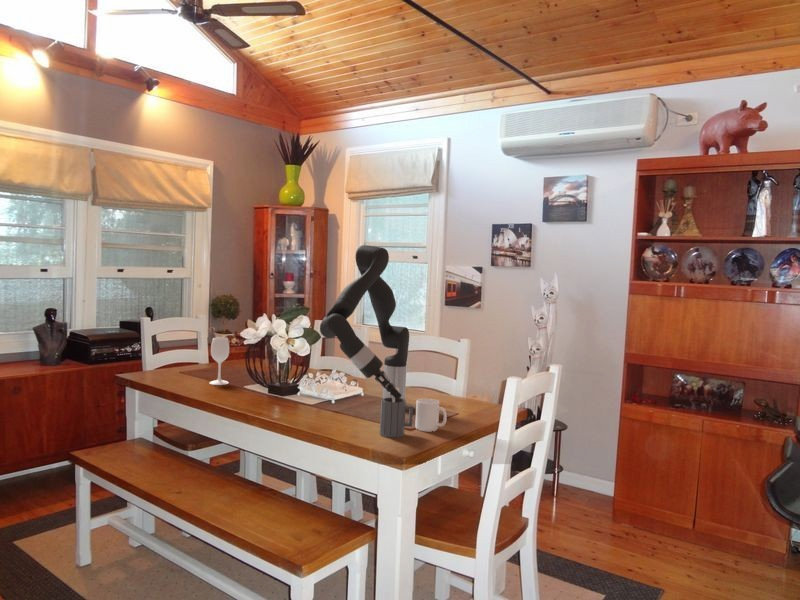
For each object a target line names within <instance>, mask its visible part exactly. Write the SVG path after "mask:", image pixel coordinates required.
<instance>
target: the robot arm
mask: <svg viewBox="0 0 800 600" xmlns="http://www.w3.org/2000/svg"><path fill="white" fill-rule="evenodd" d="M389 260H390V255H389V251H388V250H387V249H386V248H384V247H382V246H381V247H380V246H376V245H375V246H374V245H367V244H366V245H365V244H364V245H360V246H358V247H357V249H356V252H355V263H356V266H357V269H358V271H359V274H360V277H357V278H356V279H355V280H353V281H351V282H350V283H349V284H348V285H346V286H345V287H344V288H343V290H342V291H341V293H340V294H339V296H338V298H337V299H336V301H335V303H334V304H333V306H332V307H331V308H330V309H329V311H328V312H327V313H326V315H325V316H324V318H323V319H322V320H321V322H320V326H319V332H320V334H321V335H322V336H323V337H324V338H327V339H333V338H335V337H336V338H337V339H338V341H339V342H340V344H339V348H340V350H341V351H342V352H343V353H344V355H345V356H346V357H347V358H348V359H349V360H350V361H351V362H352V364H353V365H354V366H355V368H357V369H358V370H359V371H360V373H361V374H363V376H364V377H365V378H367V379H369V378H372V377H373V376H374V379H375V381H376V382H377V383H378V384H380V386H381V388H382V399H383V398H387V397H392V395H393V396H394V397H395V398H396V399H399V398H402V399H405V400H406V389H407V388H406V383H407V368H408V367H407V366H408V365H407V364H408V355H409V346H410V345H409V343H410V331H409V329H408V328H407V327H406V326H397V325H391V324H390V319H391V318H392V316H393V315H394V312H395V310H396V307H397V301H396V298H395V295H394V292H393V289H392V287H391V286H390V285H389V284H388V283H387V282H386V281H385V280H384V279H383V278H382V277H381V275H383V273H384V271H385V270H386V268H387V266H388V264H389ZM366 293H368V297H369V299H370V304H371V307H372V309H373V312H374V314H375V317H376V321H377V325H378V331H379V335H380V340H381V342H382V345H383V346H384V347H385V348H388V349H393V350H394V349H395V350H397V351H396V353H395V354H393V355H389V356H386V357H385V358H384V361H383V362H384V363H383V362H382V360H381V359H380V358H379V356H377V355H376V354H375V353H374V351H372V349H371V348H370V347H368V346H367V345H366V344H365V343H364V342H363V341H362V340H361V338H359V337H358V335H356V333H355V331H354V329H353V328H352V325H351V324H350V322H349V320H348V318H349V317H351V316H352V314H353V313H354V312H355V310H356V309H357V307H358V306H359V303H360V301H361V300H362V299H363V297H364V295H365V294H366ZM382 367H383V370H381V368H382ZM394 386H396V387H399V392H398V391H397V390H396V388H395V387H394ZM389 392H390V393H391V394H392V395H389Z"/></svg>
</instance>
